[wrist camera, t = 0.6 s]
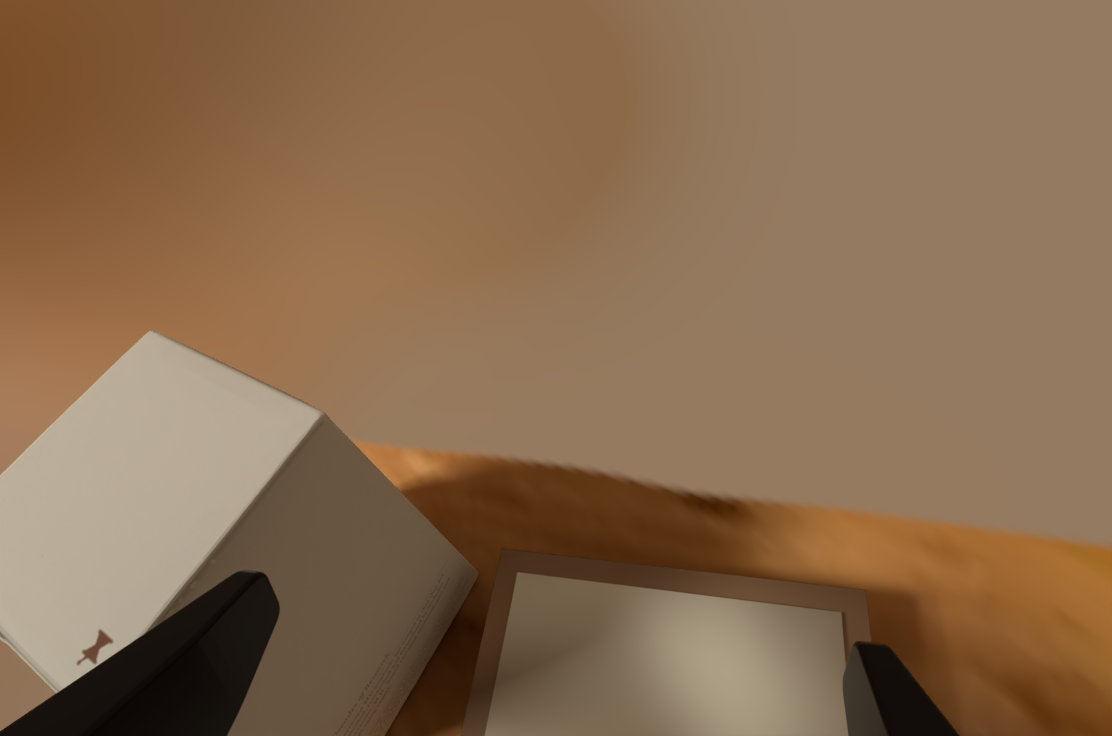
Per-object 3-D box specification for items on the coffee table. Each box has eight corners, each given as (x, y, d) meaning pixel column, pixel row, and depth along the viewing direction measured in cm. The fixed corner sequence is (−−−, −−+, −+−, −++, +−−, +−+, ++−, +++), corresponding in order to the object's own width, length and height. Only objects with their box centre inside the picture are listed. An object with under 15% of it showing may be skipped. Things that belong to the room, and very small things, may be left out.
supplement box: (486, 573, 24) (335, 411, 14) (370, 767, 21) (68, 741, 11) (352, 497, 27) (150, 319, 17) (234, 657, 24) (-101, 555, 14)
